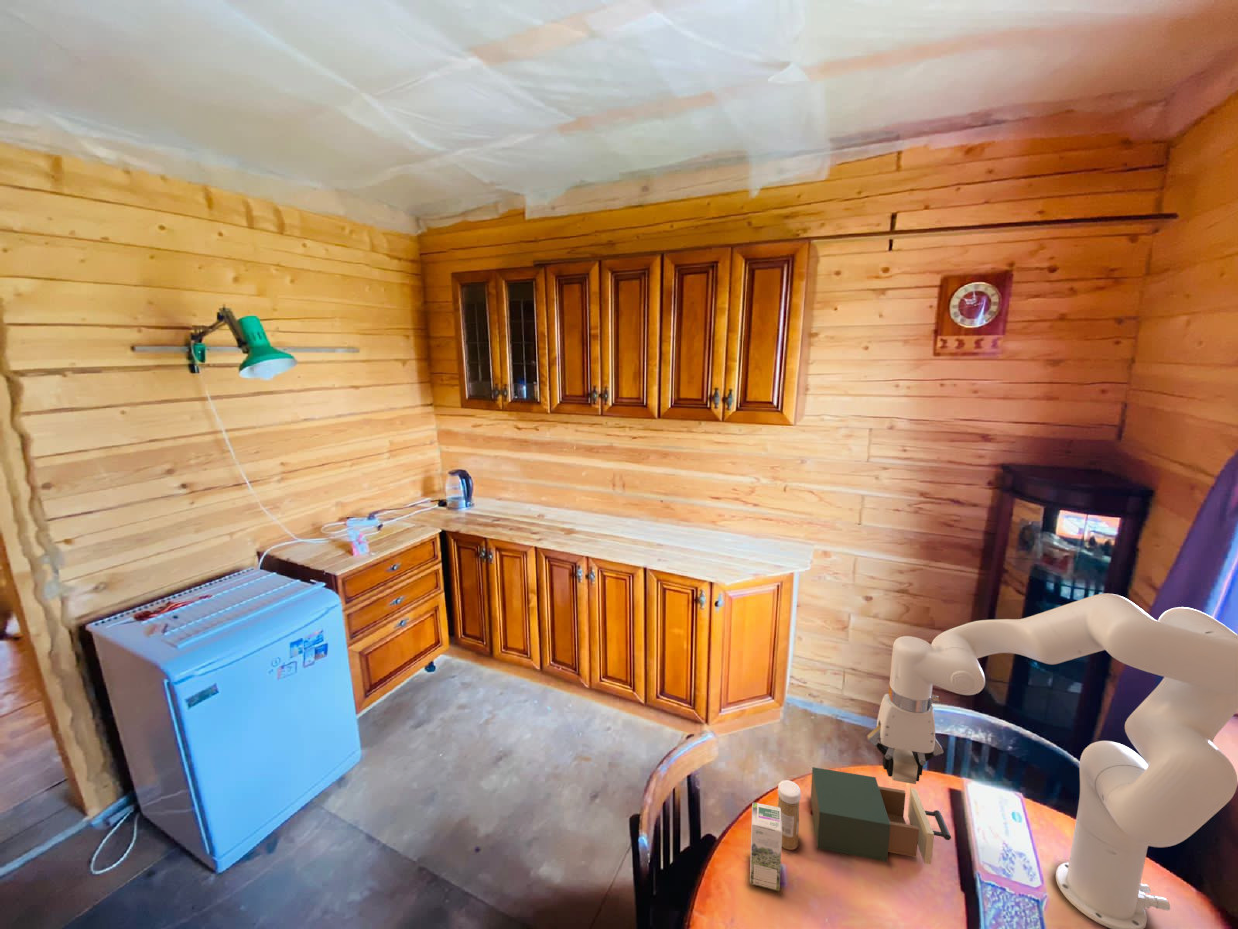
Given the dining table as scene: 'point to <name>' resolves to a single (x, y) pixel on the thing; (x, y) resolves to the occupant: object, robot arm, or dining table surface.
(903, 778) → the block
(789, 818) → the spice jar
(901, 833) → the drawer
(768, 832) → the syrup box
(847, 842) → the cabinet
